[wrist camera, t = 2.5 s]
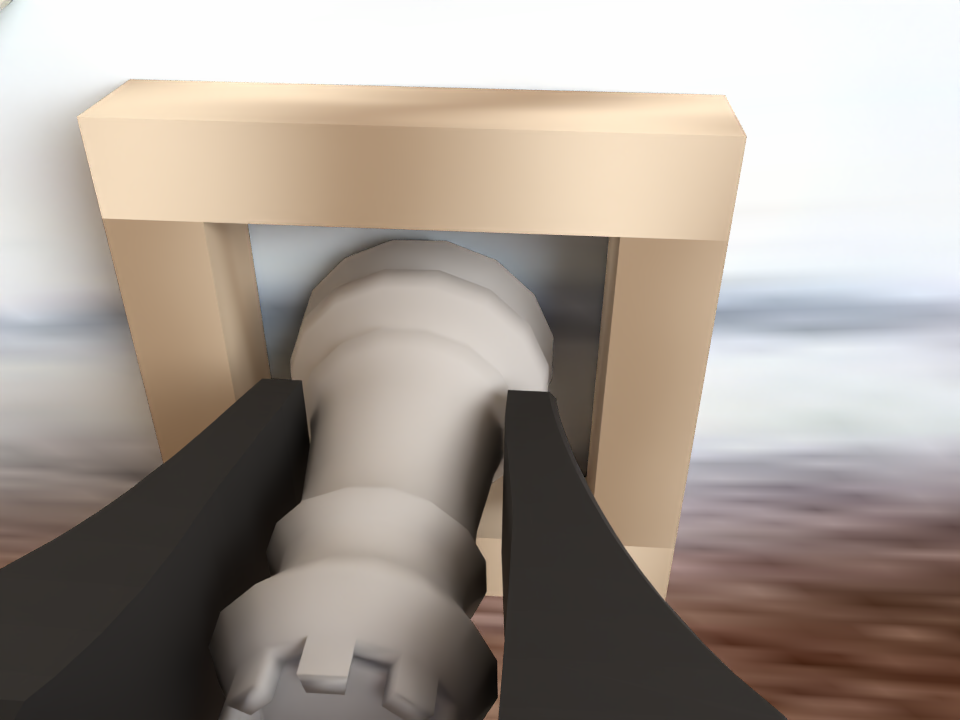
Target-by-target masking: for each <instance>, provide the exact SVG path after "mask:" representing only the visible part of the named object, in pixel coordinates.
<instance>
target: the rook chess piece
mask: <svg viewBox="0 0 960 720" xmlns="http://www.w3.org/2000/svg"><path fill="white" fill-rule="evenodd" d="M290 363H291V378H292V380H302V385H303V393H304V401H305V408H306V416H307V424H308V432H309V439H310V449H309V455H308V462H307V468H306V475H305V481H304V488H303V494H302V500H301V503H300V504H298V505H297V506H296V507H295V508H294V509H293V510H291V511H290V512H289V513H288V514H287V515H285V516H284V517H283V518H282V519H281V520H279V521H278V522H277V523H276V525H275V528H274V531H273V534H272V536H271V539H270V542H269V545H268V548H267V550H266V555H267V560H268V565H269V569H270V574H271V577H270V578H268V579H265V580H263V581H261V582H259V583H257V584H255V585H254V586H252V587H251V588H250V589H249V590H247V591H246V592H245V593H244V594H242V595H241V596H240V597H239V598H237V599H236V600H235V601H234V602H232V603H231V604H230V605H229V606H227V607H226V608H225V609H223V610H222V611H221V612H220V615H219V618H218V621H217V624H216V627H215V630H214V633H213V636H212V639H211V641H210V644H209V650H210V653H211V657H212V660H213V664H214V667H215V671H216V674H217V678H218V681H219V684H220V686H221V689H222V691H223V693H224V695H225V697H226V700H225V703H224V706H223V708H222V711H221V714H220V717H219V720H483V719H484V717H485V716H486V714H487V713H488V711H489V710H490V708H491V707H492V705H493V704H494V702H495V701H496V699H497V698H498V687H497V660H496V658H495V657H494V655H493V654H492V652H491V650H490V649H489V647H488V646H487V644H486V643H485V641H484V639H483V638H482V636H481V635H480V633H479V631H478V630H477V628H476V627H475V625H474V624H473V622H472V621H471V620H470V619H471V618H472V616H473V615H474V613H475V611H476V609H477V608H478V606H479V604H480V603H481V601H482V599H483V598H484V596H485V594H486V593H487V576H486V560H485V558H484V557H483V555H482V553H481V551H480V550H479V548H478V546H477V545H476V537H477V530H478V527H479V524H480V520H481V517H482V514H483V510H484V507H485V504H486V501H487V497H488V494H489V491H490V487H491V484H492V483H493V482H495V481H496V480H497V479H499V478H500V477H501V476H503V467H504V428H505V410H506V401H507V393H508V390H522V391H544V392H548V385H549V384H550V382H551V380H552V363H553V335H552V332H551V330H550V328H549V326H548V324H547V321H546V319H545V317H544V315H543V313H542V310H541V308H540V306H539V304H538V302H537V299H536V297H535V295H534V294H533V293H532V292H531V291H530V290H529V289H528V288H527V287H525V286H524V285H523V284H522V283H521V282H520V281H519V280H518V279H517V278H516V277H514V276H513V275H512V274H511V273H510V272H509V271H508V270H507V269H506V268H504V267H503V266H502V265H501V264H500V263H499V262H498V261H497V260H495V259H492V258H489V257H487V256H484V255H482V254H479V253H476V252H474V251H471V250H469V249H466V248H463V247H461V246H458V245H456V244H453V243H451V242H448V241H428V240H391V241H388V242H385V243H383V244H380V245H377V246H375V247H372V248H370V249H367V250H364V251H362V252H359V253H356V254H354V255H351V256H348V257H346V258H344V259H343V260H342V261H341V262H340V263H339V264H338V265H337V266H336V267H335V268H334V269H333V270H332V271H331V272H330V273H329V274H328V275H327V276H326V277H325V278H324V279H323V280H322V281H321V282H320V283H319V284H318V285H317V286H316V287H315V288H314V289H313V290H312V293H311V296H310V299H309V302H308V305H307V308H306V311H305V314H304V317H303V320H302V324H301V327H300V330H299V334H298V338H297V341H296V344H295V347H294V350H293V353H292V356H291V359H290Z"/></svg>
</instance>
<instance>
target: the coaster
mask: <svg viewBox="0 0 960 720" xmlns="http://www.w3.org/2000/svg"><path fill="white" fill-rule="evenodd" d="M11 1H12V0H0V11H1V10H2V9H3V8H5V7H6V6H7V5H8V4H9V3H10V2H11Z"/></svg>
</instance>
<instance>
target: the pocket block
mask: <svg viewBox="0 0 960 720" xmlns="http://www.w3.org/2000/svg"><path fill="white" fill-rule="evenodd" d="M77 120H78V124H79V128H80V132H81V136H82V140H83V144H84V148H85V152H86V156H87V160H88V164H89V168H90V172H91V176H92V180H93V184H94V188H95V192H96V196H97V200H98V204H99V208H100V212H101V216H102V220H103V224H104V228H105V232H106V236H107V240H108V244H109V248H110V252H111V256H112V260H113V264H114V268H115V272H116V276H117V280H118V284H119V288H120V292H121V296H122V300H123V304H124V308H125V312H126V316H127V320H128V324H129V328H130V332H131V336H132V340H133V344H134V348H135V352H136V356H137V360H138V364H139V368H140V372H141V376H142V380H143V384H144V388H145V392H146V396H147V400H148V404H149V408H150V412H151V416H152V420H153V424H154V428H155V432H156V436H157V440H158V444H159V448H160V452H161V456H162V460H163V463H165V462H166V461H167V460H169V459H170V458H171V457H173V456H174V455H175V454H176V453H177V452H179V451H180V450H181V449H182V448H183V447H184V446H186V445H187V444H188V443H189V442H190V441H192V440H193V439H194V438H195V437H196V436H197V435H199V434H200V433H201V432H202V431H203V430H204V429H206V428H207V427H208V426H209V425H210V424H211V423H212V422H213V421H215V420H216V419H217V418H218V417H219V416H220V415H221V414H222V413H224V412H225V411H226V410H227V409H228V408H229V407H230V406H231V405H233V404H234V403H235V402H236V401H237V400H238V399H239V398H240V397H242V396H243V395H244V394H245V393H246V392H247V391H248V390H249V389H251V388H252V387H253V386H254V385H255V384H256V383H258V382H259V381H260V380H261V379H262V378H263V379H271V374H270V368H269V361H268V354H267V348H266V341H265V335H264V328H263V322H262V315H261V309H260V302H259V295H258V289H257V282H256V276H255V269H254V263H253V256H252V250H251V243H250V236H249V230H248V224H270V225H298V226H326V227H354V228H382V229H410V230H437V231H465V232H493V233H521V234H549V235H577V236H605V237H609V242H608V253H607V263H606V274H605V285H604V295H603V306H602V317H601V328H600V338H599V349H598V360H597V370H596V381H595V392H594V402H593V413H592V424H591V434H590V445H589V456H588V467H587V477H584V478H585V480H586V482H587V484H588V486H589V488H590V490H591V492H592V494H593V496H594V497H595V499H596V501H597V503H598V505H599V506H600V508H601V510H602V512H603V513H604V515H605V517H606V518H607V520H608V522H609V523H610V525H611V527H612V528H613V530H614V532H615V533H616V535H617V536H618V538H619V539H620V541H621V542H622V544H623V546H624V547H625V549H626V550H627V551H628V553H629V554H630V556H631V557H632V558H633V560H634V561H635V563H636V564H637V565H638V567H639V568H640V570H641V571H642V572H643V574H644V575H645V576H646V577H647V579H648V580H649V581H650V583H651V584H652V585H653V586H654V588H655V589H656V590H657V592H658V593H659V594H660V595H661V597H662V598H663V599H664V600H665V599H666V593H667V587H668V582H669V576H670V570H671V565H672V559H673V553H674V548H675V542H676V536H677V531H678V525H679V519H680V513H681V508H682V502H683V496H684V491H685V485H686V479H687V474H688V468H689V462H690V457H691V451H692V445H693V439H694V434H695V428H696V422H697V417H698V411H699V405H700V400H701V394H702V388H703V383H704V377H705V371H706V365H707V360H708V354H709V348H710V343H711V337H712V331H713V326H714V320H715V314H716V309H717V303H718V297H719V291H720V286H721V280H722V274H723V269H724V263H725V257H726V252H727V246H728V240H729V235H730V229H731V223H732V217H733V212H734V206H735V200H736V195H737V189H738V183H739V178H740V172H741V166H742V161H743V155H744V149H745V143H746V138H747V136H746V134H745V132H744V130H743V128H742V126H741V125H740V123H739V121H738V119H737V117H736V115H735V113H734V111H733V109H732V107H731V106H730V104H729V102H728V100H727V98H726V96H725V95H703V94H665V93H627V92H590V91H552V90H514V89H476V88H438V87H400V86H362V85H324V84H286V83H248V82H210V81H172V80H134V79H130V80H128V81H127V82H126V83H124V84H123V85H121V86H120V87H119V88H117V89H116V90H114V91H113V92H111V93H110V94H109V95H107V96H106V97H104V98H103V99H102V100H100V101H99V102H97V103H96V104H94V105H93V106H92V107H90V108H89V109H87V110H86V111H85V112H83V113H82V114H80V115H79V116H77ZM502 507H503V476H501V477H500V478H499V479H497V480H496V481H495V482H493V483H492V484H491V487H490V491H489V494H488V497H487V501H486V504H485V507H484V510H483V514H482V517H481V520H480V524H479V527H478V530H477V537H476V545H477V546H478V548H479V550H480V551H481V553H482V555H483V557H484V558H485V560H486V576H487V593H486V594H485V596H499V597H503V584H502V557H501V546H502Z"/></svg>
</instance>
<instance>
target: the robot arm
mask: <svg viewBox="0 0 960 720" xmlns="http://www.w3.org/2000/svg"><path fill="white" fill-rule="evenodd" d="M309 449H310V439H309V432H308V424H307V416H306V408H305V401H304V393H303V385H302V380H284V379H263V378H262V379H261V380H260V381H259V382H258V383H256V384H255V385H254V386H253V387H252V388H251V389H249V390H248V391H247V392H246V393H245V394H244V395H243V396H242V397H240V398H239V399H238V400H237V401H236V402H235V403H234V404H233V405H231V406H230V407H229V408H228V409H227V410H226V411H225V412H224V413H222V414H221V415H220V416H219V417H218V418H217V419H216V420H215V421H213V422H212V423H211V424H210V425H209V426H208V427H207V428H206V429H204V430H203V431H202V432H201V433H200V434H199V435H197V436H196V437H195V438H194V439H193V440H192V441H190V442H189V443H188V444H187V445H186V446H184V447H183V448H182V449H181V450H180V451H179V452H177V453H176V454H175V455H174V456H173V457H171V458H170V459H169V460H167V461H166V462H165V463H164V464H162V465H161V466H160V467H158V468H157V469H156V470H155V471H153V472H152V473H151V474H149V475H148V476H147V477H145V478H144V479H143V480H142V481H140V482H139V483H138V484H136V485H135V486H134V487H133V488H131V489H130V490H129V491H127V492H126V493H125V494H123V495H122V496H120V497H119V498H118V499H116V500H115V501H113V502H112V503H110V504H109V505H108V506H106V507H105V508H103V509H102V510H100V511H99V512H97V513H96V514H94V515H93V516H91V517H89V518H88V519H86V520H85V521H83V522H82V523H80V524H78V525H77V526H75V527H74V528H72V529H71V530H69V531H68V532H66V533H64V534H63V535H61V536H59V537H58V538H56V539H54V540H52V541H51V542H49V543H47V544H45V545H43V546H41V547H40V548H38V549H36V550H34V551H32V552H31V553H29V554H27V555H25V556H23V557H21V558H20V559H18V560H16V561H14V562H12V563H11V564H9V565H7V566H5V567H3V568H1V569H0V720H219V717H220V714H221V711H222V708H223V706H224V703H225V700H226V697H225V695H224V693H223V691H222V689H221V686H220V684H219V681H218V678H217V674H216V671H215V667H214V664H213V660H212V657H211V653H210V650H209V644H210V641H211V639H212V636H213V633H214V630H215V627H216V624H217V621H218V618H219V615H220V612H221V611H222V610H223V609H225V608H226V607H227V606H229V605H230V604H231V603H232V602H234V601H235V600H236V599H237V598H239V597H240V596H241V595H242V594H244V593H245V592H246V591H247V590H249V589H250V588H251V587H252V586H254V585H255V584H257V583H259V582H261V581H263V580H265V579H268V578H270V577H271V574H270V569H269V565H268V560H267V555H266V550H267V548H268V545H269V542H270V539H271V536H272V534H273V531H274V528H275V525H276V523H277V522H278V521H279V520H281V519H282V518H283V517H284V516H285V515H287V514H288V513H289V512H290V511H291V510H293V509H294V508H295V507H296V506H297V505H298V504H300V503H301V500H302V494H303V488H304V481H305V475H306V468H307V462H308V455H309ZM501 557H502V584H503V609H504V635H505V643H504V656H503V669H502V682H501V694H500V707H499V718H498V720H787V718H786V717H785V716H784V715H783V714H781V713H780V712H779V711H778V710H777V709H776V708H774V707H773V706H772V705H771V704H770V703H768V702H767V701H766V700H765V699H764V698H762V697H761V696H760V695H759V694H758V693H757V692H755V691H754V690H753V689H752V688H751V687H749V686H748V685H747V684H746V683H745V682H743V681H742V680H741V679H740V678H739V677H738V676H736V675H735V674H734V673H733V672H732V671H731V670H730V669H729V668H728V667H727V666H726V665H725V664H724V663H723V662H722V661H721V660H720V659H719V658H718V657H717V656H716V655H715V654H714V653H713V652H712V651H711V650H710V649H709V648H707V647H706V646H705V645H704V644H703V643H702V641H701V640H700V639H699V638H698V637H697V636H696V635H695V634H694V633H693V631H692V630H691V629H690V628H689V627H688V626H687V625H686V624H685V622H684V621H683V620H682V619H681V618H680V617H679V616H678V615H677V614H676V612H675V611H674V610H673V609H672V608H671V607H670V606H669V605H668V604H667V602H666V601H665V600H664V599H663V598H662V597H661V595H660V594H659V593H658V592H657V590H656V589H655V588H654V586H653V585H652V584H651V583H650V581H649V580H648V579H647V577H646V576H645V575H644V574H643V572H642V571H641V570H640V568H639V567H638V565H637V564H636V563H635V561H634V560H633V558H632V557H631V556H630V554H629V553H628V551H627V550H626V549H625V547H624V546H623V544H622V542H621V541H620V539H619V538H618V536H617V535H616V533H615V532H614V530H613V528H612V527H611V525H610V523H609V522H608V520H607V518H606V517H605V515H604V513H603V512H602V510H601V508H600V506H599V505H598V503H597V501H596V499H595V497H594V496H593V494H592V492H591V490H590V488H589V486H588V484H587V482H586V480H585V478H584V476H583V474H582V472H581V470H580V467H579V465H578V463H577V461H576V459H575V457H574V454H573V452H572V450H571V447H570V445H569V442H568V440H567V437H566V434H565V432H564V429H563V426H562V423H561V420H560V416H559V412H558V408H557V403H556V398H555V397H554V396H553V395H552V394H551V393H550V392H544V391H522V390H508V393H507V401H506V410H505V428H504V467H503V507H502V546H501Z"/></svg>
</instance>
